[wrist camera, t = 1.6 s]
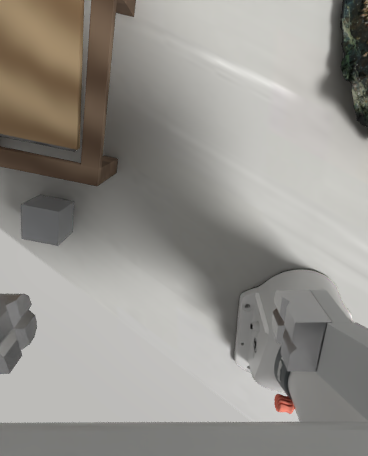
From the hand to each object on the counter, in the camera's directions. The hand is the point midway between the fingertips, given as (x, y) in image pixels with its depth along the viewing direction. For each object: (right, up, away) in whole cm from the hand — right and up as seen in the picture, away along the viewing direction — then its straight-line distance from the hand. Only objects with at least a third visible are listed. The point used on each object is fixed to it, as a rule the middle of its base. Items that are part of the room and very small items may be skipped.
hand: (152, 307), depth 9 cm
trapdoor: (-16, +20, +21) cm, 33 cm away
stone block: (-18, +5, +33) cm, 38 cm away
